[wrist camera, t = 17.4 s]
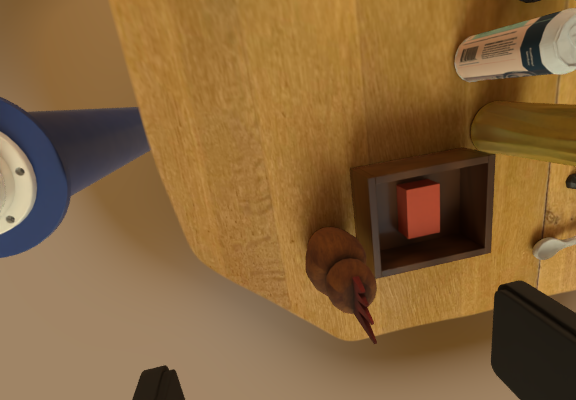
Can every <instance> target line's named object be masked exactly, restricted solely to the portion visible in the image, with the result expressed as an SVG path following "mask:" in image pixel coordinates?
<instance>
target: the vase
mask: <svg viewBox="0 0 576 400" xmlns="http://www.w3.org/2000/svg"><path fill="white" fill-rule="evenodd" d="M471 140H472V142H473V144H474V146H475V147H476V148H477V149H478V150H479V151H482V152H487V153H492V154H502V155H508V156H516V157H522V158H528V159H533V160H539V161H545V162H552V163H558V164H564V165H571V166H576V105H567V104H545V103H525V102H506V101H494V102H491V103H488V104H487V105H485V106H484V107H482V108H481V109H480V110H479V112H478V113H477V114H476V116H475V118H474V120H473V123H472V125H471Z"/></svg>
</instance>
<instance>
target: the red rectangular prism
mask: <svg viewBox="0 0 576 400" xmlns="http://www.w3.org/2000/svg"><path fill="white" fill-rule="evenodd" d="M396 188H397V209H398V229H399V232H400V233H401V234H403V235H404V236H405V237H406V238H408V239H411V238H416V237H420V236H425V235H429V234H434V233H439V232H440V183H437V182H434V181H432V180H429V179H425V180H420V181H414V182H409V183H404V184H399V185H396Z"/></svg>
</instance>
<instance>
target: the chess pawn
mask: <svg viewBox="0 0 576 400" xmlns="http://www.w3.org/2000/svg"><path fill="white" fill-rule="evenodd" d="M566 185H567V188H571V189H576V174H573V175H570V176H569V177H568V179H567V181H566Z"/></svg>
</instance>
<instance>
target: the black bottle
mask: <svg viewBox="0 0 576 400" xmlns="http://www.w3.org/2000/svg"><path fill="white" fill-rule="evenodd" d="M520 1H523V2H525V3H532V2H537V1H540V0H520Z"/></svg>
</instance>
